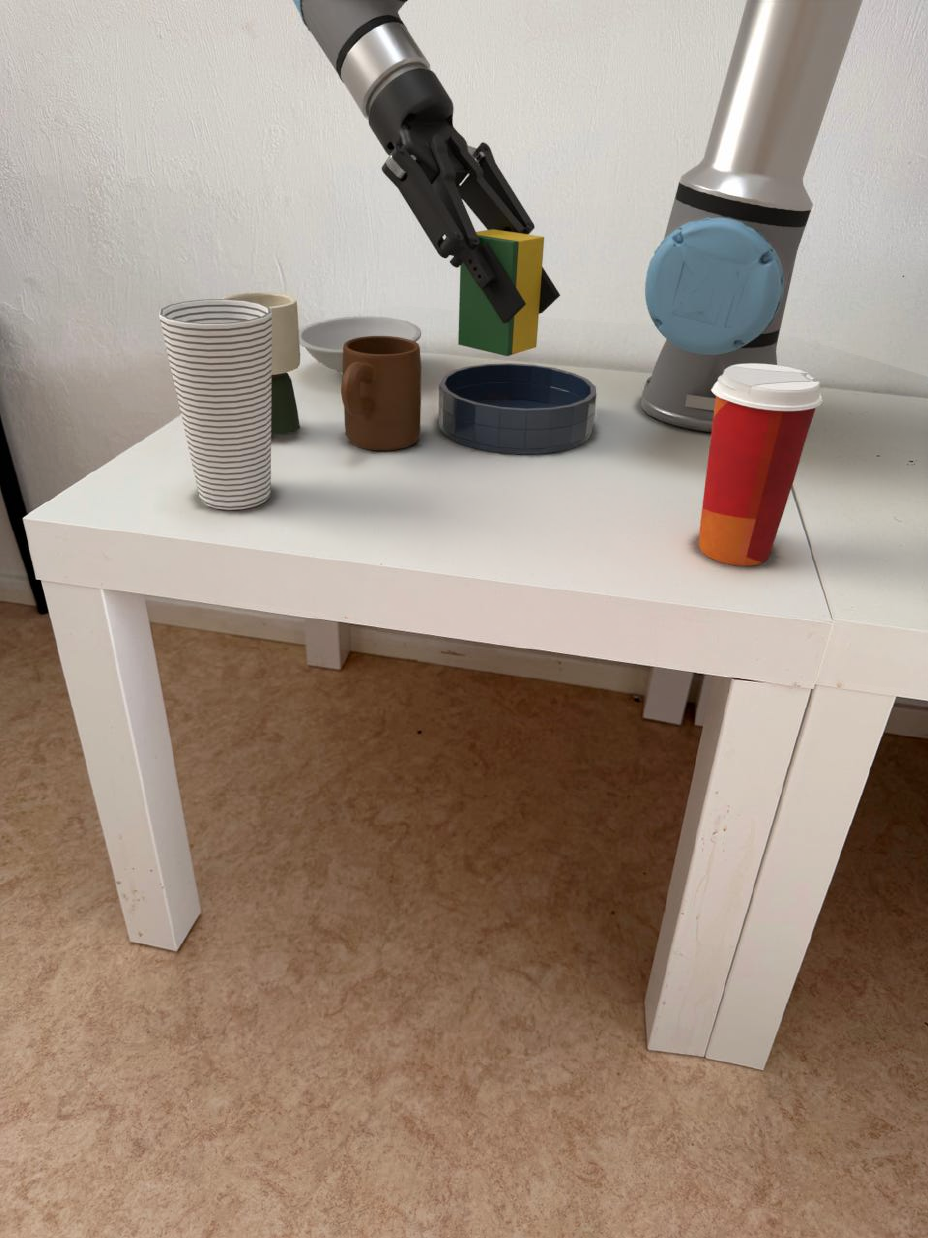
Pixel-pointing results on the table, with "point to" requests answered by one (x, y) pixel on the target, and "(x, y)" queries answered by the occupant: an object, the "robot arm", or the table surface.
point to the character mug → (281, 357)
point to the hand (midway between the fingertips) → (531, 308)
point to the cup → (224, 395)
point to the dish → (350, 335)
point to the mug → (381, 392)
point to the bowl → (516, 408)
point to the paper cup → (753, 458)
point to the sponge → (477, 313)
